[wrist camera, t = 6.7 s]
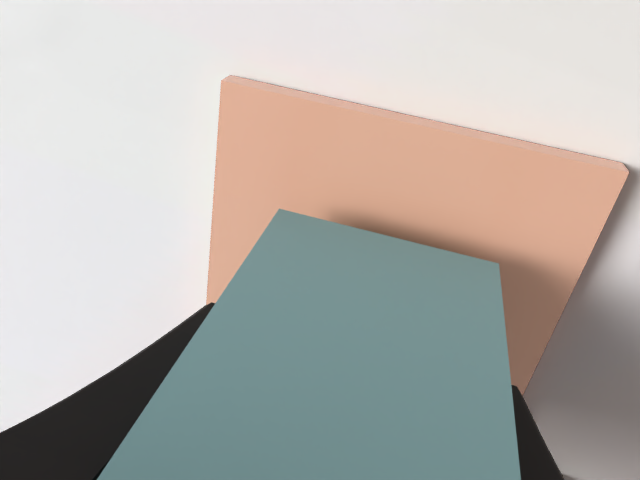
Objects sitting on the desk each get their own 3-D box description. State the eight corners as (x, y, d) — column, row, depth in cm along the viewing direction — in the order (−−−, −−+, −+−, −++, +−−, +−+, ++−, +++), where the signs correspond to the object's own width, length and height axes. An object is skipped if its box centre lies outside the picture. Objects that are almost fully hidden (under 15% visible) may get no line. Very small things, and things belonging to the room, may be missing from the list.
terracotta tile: (209, 359, 16) (201, 371, 15) (230, 75, 12) (221, 80, 11) (493, 440, 15) (493, 455, 14) (623, 163, 11) (629, 172, 10)
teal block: (257, 369, 13) (90, 721, 7) (279, 208, 11) (65, 527, 5) (438, 420, 13) (415, 842, 7) (498, 263, 11) (542, 686, 5)
